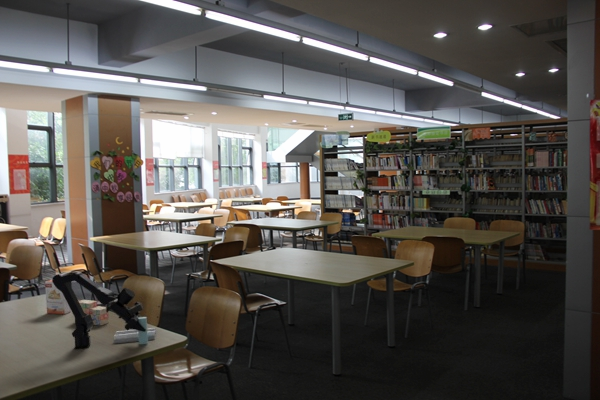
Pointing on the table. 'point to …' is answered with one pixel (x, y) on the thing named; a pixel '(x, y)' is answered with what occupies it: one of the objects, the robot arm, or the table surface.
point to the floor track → (132, 336)
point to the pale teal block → (142, 335)
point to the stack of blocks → (95, 312)
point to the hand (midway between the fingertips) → (145, 330)
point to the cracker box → (55, 300)
